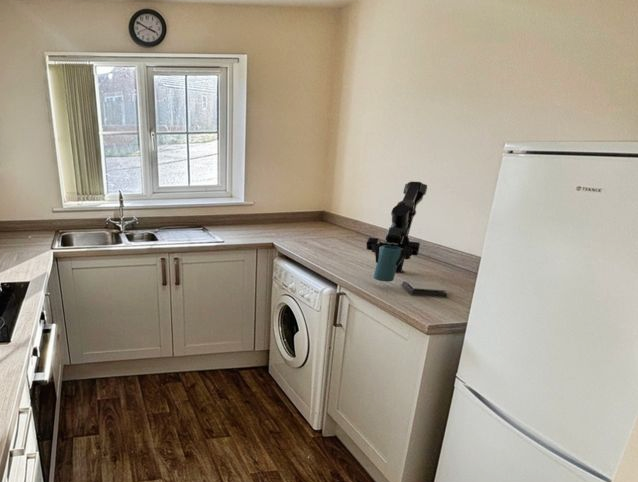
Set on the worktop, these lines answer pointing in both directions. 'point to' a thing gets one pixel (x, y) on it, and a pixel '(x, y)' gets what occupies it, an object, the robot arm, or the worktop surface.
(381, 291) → the worktop surface
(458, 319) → the worktop surface
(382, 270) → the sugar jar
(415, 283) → the pan
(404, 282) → the scale
